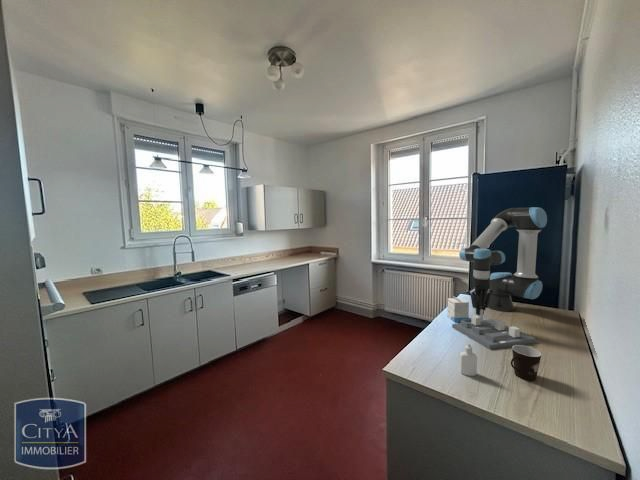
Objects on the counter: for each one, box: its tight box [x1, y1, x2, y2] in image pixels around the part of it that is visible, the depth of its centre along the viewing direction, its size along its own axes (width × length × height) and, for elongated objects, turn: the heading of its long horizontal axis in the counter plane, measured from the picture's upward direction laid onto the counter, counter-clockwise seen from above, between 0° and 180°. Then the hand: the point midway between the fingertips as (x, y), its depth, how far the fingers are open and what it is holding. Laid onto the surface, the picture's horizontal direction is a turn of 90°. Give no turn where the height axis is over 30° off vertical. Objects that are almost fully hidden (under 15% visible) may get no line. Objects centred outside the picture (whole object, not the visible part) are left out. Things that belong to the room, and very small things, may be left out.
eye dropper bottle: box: [459, 342, 478, 377], centre depth 100 cm, size 4×6×12 cm
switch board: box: [451, 319, 537, 350], centre depth 132 cm, size 26×24×4 cm
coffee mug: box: [510, 344, 542, 382], centre depth 98 cm, size 12×9×10 cm
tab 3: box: [509, 326, 521, 338], centre depth 125 cm, size 3×3×4 cm
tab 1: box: [470, 315, 481, 325], centre depth 139 cm, size 3×3×4 cm
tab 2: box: [494, 319, 506, 331], centre depth 133 cm, size 3×3×4 cm
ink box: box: [447, 295, 470, 323], centre depth 151 cm, size 9×8×13 cm
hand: (479, 320), depth 139 cm, fingers closed
